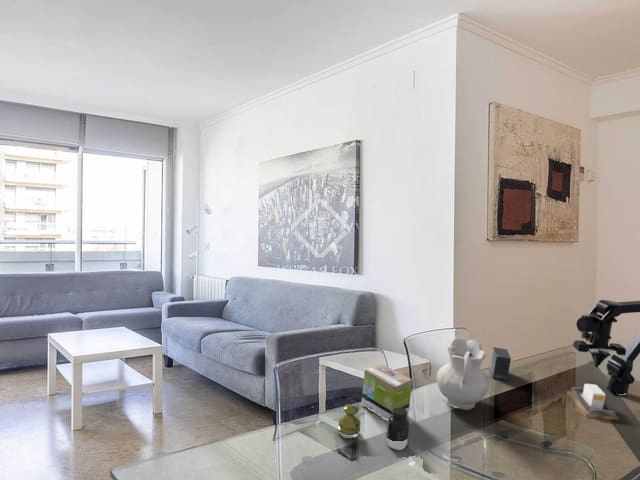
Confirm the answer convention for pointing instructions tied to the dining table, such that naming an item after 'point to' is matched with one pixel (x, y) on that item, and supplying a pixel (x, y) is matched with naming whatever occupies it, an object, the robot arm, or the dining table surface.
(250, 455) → the dining table surface
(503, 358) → the small box
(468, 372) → the ceramic pitcher
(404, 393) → the tea box
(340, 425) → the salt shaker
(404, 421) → the supplement bottle
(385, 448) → the dining table surface
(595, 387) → the block
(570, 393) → the rail mount
